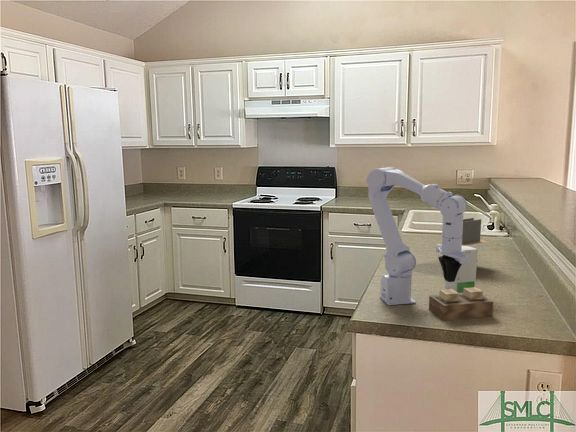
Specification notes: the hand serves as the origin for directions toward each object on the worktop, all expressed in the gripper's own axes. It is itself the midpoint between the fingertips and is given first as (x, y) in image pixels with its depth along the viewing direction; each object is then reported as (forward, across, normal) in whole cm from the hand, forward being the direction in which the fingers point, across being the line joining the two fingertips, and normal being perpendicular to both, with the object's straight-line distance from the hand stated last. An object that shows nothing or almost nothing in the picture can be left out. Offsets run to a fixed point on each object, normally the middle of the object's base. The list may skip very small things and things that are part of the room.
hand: (449, 280), depth 144 cm
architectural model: (+11, +44, -30) cm, 55 cm away
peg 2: (+8, 0, -8) cm, 11 cm away
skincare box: (+11, +18, -14) cm, 25 cm away
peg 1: (+8, 0, 0) cm, 8 cm away
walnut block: (+10, 0, -4) cm, 11 cm away
